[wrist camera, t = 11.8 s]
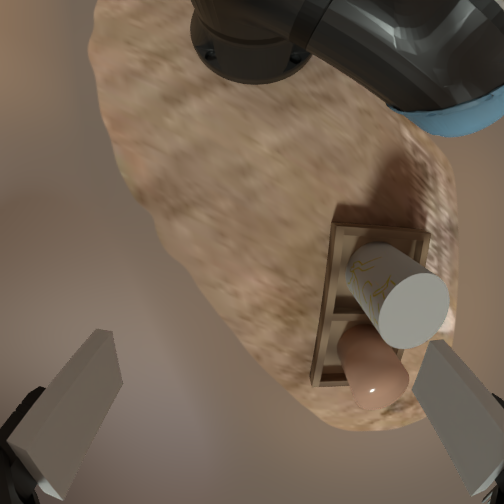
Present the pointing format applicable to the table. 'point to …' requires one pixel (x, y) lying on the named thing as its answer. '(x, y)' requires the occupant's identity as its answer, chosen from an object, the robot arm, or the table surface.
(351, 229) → the caddy
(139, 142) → the table surface
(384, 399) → the tan rounded cylinder
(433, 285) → the grey cylinder
